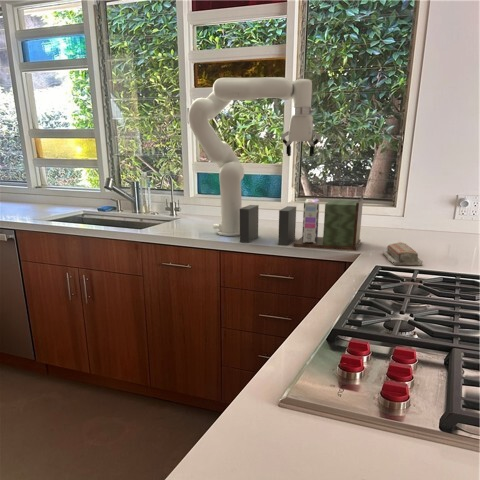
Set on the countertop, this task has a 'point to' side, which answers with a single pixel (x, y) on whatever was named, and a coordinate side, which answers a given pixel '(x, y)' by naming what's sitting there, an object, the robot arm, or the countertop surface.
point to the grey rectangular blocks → (251, 224)
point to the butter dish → (402, 254)
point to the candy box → (310, 221)
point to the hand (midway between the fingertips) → (299, 156)
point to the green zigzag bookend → (339, 226)
